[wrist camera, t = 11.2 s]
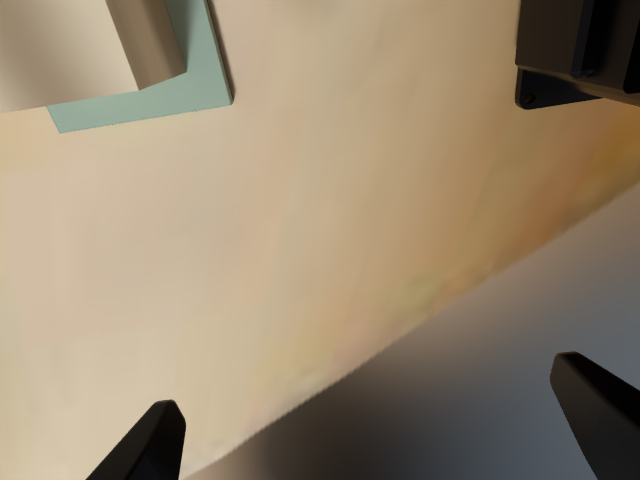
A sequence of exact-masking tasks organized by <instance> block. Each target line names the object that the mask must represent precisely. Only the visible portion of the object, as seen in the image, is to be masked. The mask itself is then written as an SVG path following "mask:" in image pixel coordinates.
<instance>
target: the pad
mask: <svg viewBox="0 0 640 480" xmlns="http://www.w3.org/2000/svg"><path fill="white" fill-rule="evenodd" d="M165 3H166V6H167V9H168V13H169V16H170V19H171V22H172V26H173V29H174V32H175V35H176V39H177V42H178V45H179V49H180V52H181V55H182V58H183V62H184V65H185V68H186V73H184V74H181V75H179V76H176V77H173V78H171V79H168V80H165V81H163V82H160V83H158V84H155V85H152V86H150V87H147V88H144V89H142V90H139V91H133V92H127V93H121V94H115V95H109V96H103V97H97V98H91V99H85V100H79V101H73V102H67V103H61V104H55V105H49V106H46V108H47V110H48V111H49V113H50V115H51V117H52V119H53V121H54V123H55V125H56V127H57V129H58V131H59V133H66V132H72V131H78V130H84V129H90V128H96V127H102V126H108V125H114V124H120V123H126V122H132V121H138V120H144V119H150V118H157V117H163V116H169V115H175V114H181V113H187V112H193V111H199V110H205V109H211V108H217V107H223V106H229V105H232V104H233V100H232V96H231V92H230V88H229V84H228V80H227V77H226V73H225V69H224V65H223V61H222V57H221V53H220V49H219V46H218V42H217V38H216V34H215V30H214V26H213V22H212V19H211V15H210V11H209V7H208V3H207V0H165Z"/></svg>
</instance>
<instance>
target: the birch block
mask: <svg viewBox="0 0 640 480" xmlns="http://www.w3.org/2000/svg"><path fill="white" fill-rule="evenodd" d="M184 73H186V68H185V65H184V62H183V58H182V55H181V52H180V49H179V45H178V42H177V39H176V35H175V32H174V29H173V26H172V22H171V19H170V16H169V13H168V9H167V6H166V3H165V0H0V114H1V113H7V112H13V111H19V110H25V109H31V108H37V107H43V106H49V105H55V104H61V103H67V102H73V101H79V100H85V99H91V98H97V97H103V96H109V95H115V94H121V93H127V92H133V91H139V90H142V89H144V88H147V87H150V86H152V85H155V84H158V83H160V82H163V81H165V80H168V79H171V78H173V77H176V76H179V75H181V74H184Z"/></svg>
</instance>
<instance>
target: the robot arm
mask: <svg viewBox="0 0 640 480" xmlns="http://www.w3.org/2000/svg"><path fill="white" fill-rule="evenodd" d="M515 64H516V65H517V66H518V76H517V85H516V94H515V103H516V105H517V106H518V107H520V108H522V109H526V110H530V109H536V108H543V107H549V106H556V105H562V104H568V103H575V102H581V101H587V100H594V99H600V98H607V99H611V100H615V101H619V102H623V103H627V104H631V105H635V106H639V107H640V0H522V3H521V12H520V21H519V30H518V39H517V49H516V58H515ZM530 92H531V93H532V97H531V99H530V100H529V101H528V102H525V97H526V95H527V94H528V93H530ZM550 383H551V387H552V389H553V391H554V393H555V395H556V397H557V400H558V402H559V404H560V406H561V408H562V410H563V412H564V415H565V417H566V418H567V421H568V423H569V425H570V427H571V430H572V432H573V434H574V436H575V438H576V440H577V442H578V445H579V446H580V449H581V451H582V452H583V455H584V456H585V458H586V460H587V462H588V464H589V465H590V467H591V469H592V471H593V472H594V474H595V475H596V477H597V479H598V480H640V390H638V389H636V388H635V387H633V386H632V385H630V384H628V383H627V382H625V381H624V380H622V379H620V378H619V377H617V376H615V375H614V374H612V373H611V372H609V371H607V370H606V369H604V368H603V367H601V366H599V365H598V364H596V363H595V362H593V361H591V360H590V359H588V358H587V357H585V356H583V355H582V354H580V353H578V352H563V353H558V354H557V355H556V356H555V358H554V362H553V365H552V369H551V374H550ZM185 432H186V422H185V418H184V416H183V415H182V413H181V411H180V409H179V408H178V406H177V404H176V402H175V401H174V400H162V401H157V402H155V403H154V404H153V405H152V406H151V407H150V408H149V409H148V410H147V412H146V413H145V414H144V415H143V416H142V417H141V418H140V419H139V420H138V422H137V423H136V424H135V425H134V426H133V427H132V428H131V429H130V431H129V432H128V433H127V434H126V435H125V436H124V437H123V438H122V439H121V441H120V442H119V443H118V444H117V445H116V446H115V447H114V448H113V450H112V451H111V452H110V453H109V454H108V455H107V456H106V457H105V458H104V460H103V461H102V462H101V463H100V464H99V465H98V466H97V467H96V469H95V470H94V471H93V472H92V473H91V474H90V475H89V476H88V477H87V479H86V480H178V479H179V472H180V465H181V459H182V452H183V445H184V438H185Z"/></svg>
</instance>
